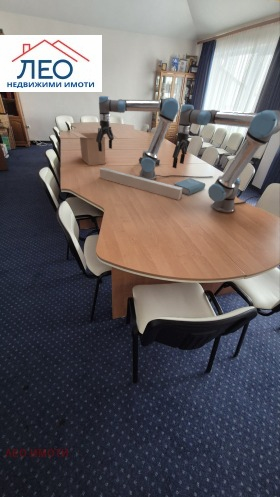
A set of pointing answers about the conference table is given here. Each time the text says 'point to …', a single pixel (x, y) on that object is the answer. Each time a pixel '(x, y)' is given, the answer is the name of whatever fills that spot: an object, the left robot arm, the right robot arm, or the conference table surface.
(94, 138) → the box
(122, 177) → the beam
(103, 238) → the conference table surface
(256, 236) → the conference table surface
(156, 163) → the laser sight
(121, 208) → the conference table surface
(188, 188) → the book
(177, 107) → the left robot arm
